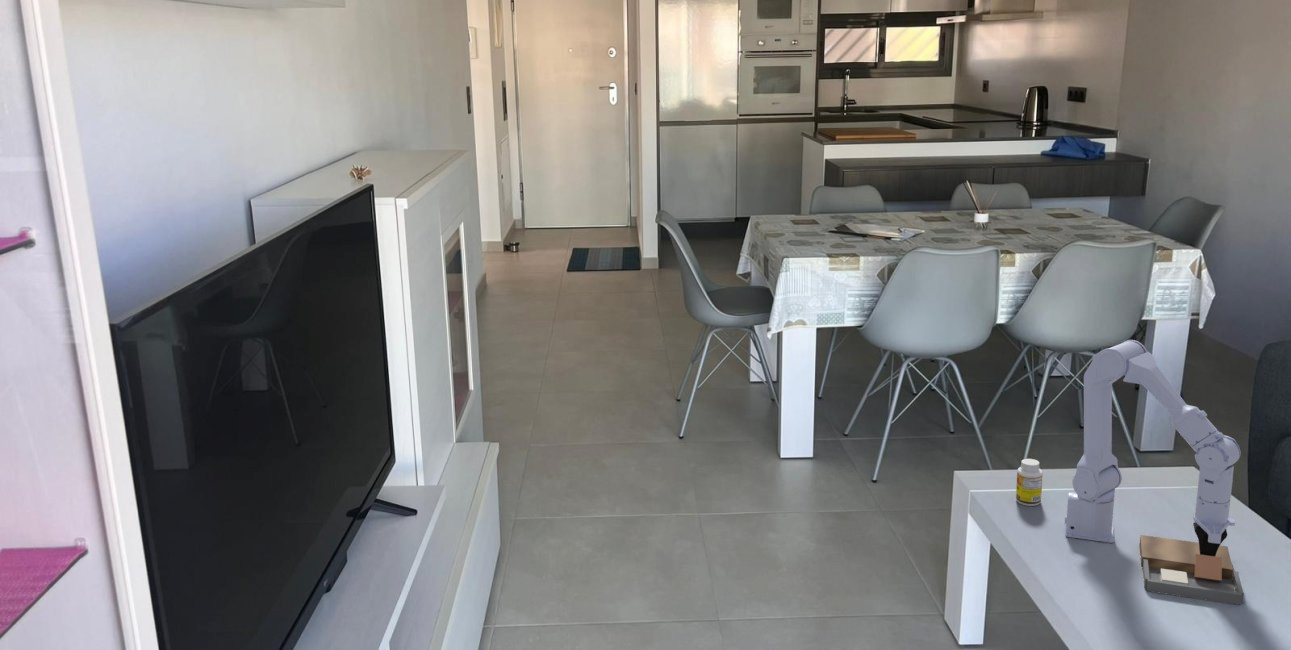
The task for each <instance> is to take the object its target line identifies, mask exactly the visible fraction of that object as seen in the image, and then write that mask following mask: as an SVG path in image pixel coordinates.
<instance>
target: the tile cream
mask: <svg viewBox="0 0 1291 650" xmlns="http://www.w3.org/2000/svg"><path fill="white" fill-rule="evenodd" d="M1160 580H1161V581H1165V582H1172V583H1178V584H1185V585H1188V580H1187V573H1186V572H1182V571H1175V570H1168V569H1161V570H1160Z"/></svg>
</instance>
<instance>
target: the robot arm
mask: <svg viewBox="0 0 1291 650" xmlns="http://www.w3.org/2000/svg"><path fill="white" fill-rule="evenodd" d="M1123 376H1125V377H1123ZM1122 377H1123V379H1122V381H1123V382H1125V383H1129V384H1137V385H1142V386H1143V387H1144V388H1145V389H1146V390H1147V392H1149V393H1150V394H1151V395H1152V396H1153V398H1154V399H1156V400H1157V402H1158V403H1160V404H1161V406H1163V407H1164V408H1165V410H1166V411H1168V413H1169V414H1170V415H1171V418H1170V419H1171V423H1170V424H1171V425H1172V427H1173V428H1174V429H1175V430H1176V431H1177V433H1179V434H1180V436H1181V437H1182V438H1183V439H1184V441H1185V442H1186V443H1188V445H1189V446H1190V447H1191V449H1192V450H1193V451H1194V452H1195V453H1194V460H1195V462H1196V464H1197V466H1198V467H1199V472H1198V480H1197V491H1196V501H1195V509H1194V511H1195V512H1194V514H1193V518H1192V519H1193V521H1194V522H1193V528H1194V529H1193V530H1194V533H1195V535H1196V538H1197V540H1198V541H1197V542H1198V543H1199V551H1200V555H1207V556H1216V553H1217V550H1218V548H1219V546H1221V544H1222V543H1223V542H1224V541H1225V540H1226V539H1227V537H1228V532H1227V528H1228V527H1229V526H1231V527H1233V526H1235V524H1236V520H1235V519H1234V518H1233V517H1232V518H1231V517H1229V515H1230V507H1231V498H1232V488H1233V481H1234V480H1233V479H1234V468H1235V466H1234V464H1236V463H1237V462H1238V461H1239V460H1240V457H1241V449H1240V445H1239V444H1238V443H1237V441H1236V439H1235V438H1232V437H1231V436H1229V435H1225V434H1223V432H1221V431H1219V430H1218V429H1217V427H1215V426H1214V424H1213V423H1212V422H1211V421H1210V420H1209V419H1208V414H1207V412H1206V411H1205V410H1204V409H1203V410H1201V409H1199V407H1198V406H1194V405H1190V404H1187V403H1186V402H1185V400H1184V399H1183V398H1182V397H1181V395H1180V393H1178V392H1177V389H1175V387H1174V385H1172V383H1171V382H1170V381H1169V380H1168V378H1167V377H1166V376H1165V374H1164V373H1163V372H1162V370H1161V369H1160V368H1159V367H1158V365H1157V363H1156V360H1155V357H1154V355H1153V354H1152V353H1151V352H1149V351H1148V350H1147V348H1146V346H1145V345H1144V344H1142V343H1141V342H1140V341H1138V340H1135V339H1134V340H1133V339H1127V340H1125V341H1122V342H1121V343H1119V344H1115V345H1113V346H1112V347H1109V348H1104V349H1102V350H1101V351H1099V352H1097V353H1095V354H1093V356H1092V361H1091V363H1090V364H1089V366H1088V367H1087V369H1086V371H1085V372H1084V374H1083V454H1082V456H1081V458H1080V460H1079V461H1078V463H1076V464H1077V465H1076V471H1075V475H1074V476H1073V479H1072V483H1071V484H1072V488H1073V490H1074V491H1069V492H1068V493H1067V509H1066V515H1064V525H1066V526H1065V537H1067V538H1072V539H1081V540H1089V541H1095V542H1103V543H1110V544H1113V543H1114V540H1115V539H1114V538H1115V537H1114V525H1113V521H1114V519H1113V518H1114V505H1115V492H1116V488H1118V487H1120V485H1121V484H1122V480H1123V479H1122V478H1123V477H1122V473H1121V470H1120V468H1119V465H1118V458H1117V457H1116V456H1115V455H1114V454H1113V451H1112V450H1113V448H1112V447H1113V444H1112V443H1113V442H1112V441H1113V436H1112V435H1113V431H1112V430H1113V427H1112V425H1113V418H1112V417H1113V383H1115V382H1117V381H1118V380H1119V379H1121V378H1122Z"/></svg>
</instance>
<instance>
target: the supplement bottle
mask: <svg viewBox="0 0 1291 650" xmlns="http://www.w3.org/2000/svg"><path fill="white" fill-rule="evenodd" d="M1020 462H1021V464H1020V466H1019V467H1018V468H1017V470H1016V472H1017V473H1016V488H1015V489H1016V492H1015V493H1016V495H1015V500H1016V501H1017V502H1018V504H1020V505H1023V506H1025V507H1027V506H1028V507H1036V506H1038V505H1040V504H1041V503H1042V492H1043V491H1042V490H1043V489H1042V488H1043V470H1042V469H1041V468H1040V461H1039V460H1037V459H1035V458H1034V459H1033V458H1025V459H1022V460H1021V461H1020Z"/></svg>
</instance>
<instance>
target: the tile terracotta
mask: <svg viewBox="0 0 1291 650" xmlns="http://www.w3.org/2000/svg"><path fill="white" fill-rule="evenodd" d="M1194 578H1198V579H1205V580H1212V581H1219V582H1221V581H1222V557H1215V556H1207V555H1200V554H1195V566H1194Z"/></svg>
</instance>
